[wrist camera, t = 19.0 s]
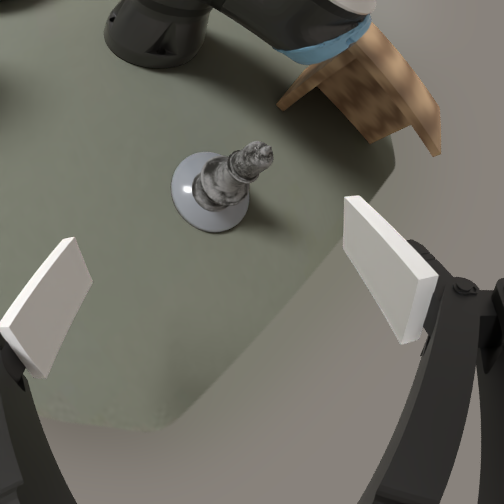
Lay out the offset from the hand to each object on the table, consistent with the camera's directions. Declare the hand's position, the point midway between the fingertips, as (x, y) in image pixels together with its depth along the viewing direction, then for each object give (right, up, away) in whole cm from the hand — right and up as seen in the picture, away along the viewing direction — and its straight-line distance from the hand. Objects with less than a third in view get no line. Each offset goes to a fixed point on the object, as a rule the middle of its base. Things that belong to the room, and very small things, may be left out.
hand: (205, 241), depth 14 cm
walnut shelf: (+17, +23, +37) cm, 47 cm away
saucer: (-3, +7, +22) cm, 23 cm away
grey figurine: (-3, +7, +22) cm, 23 cm away
